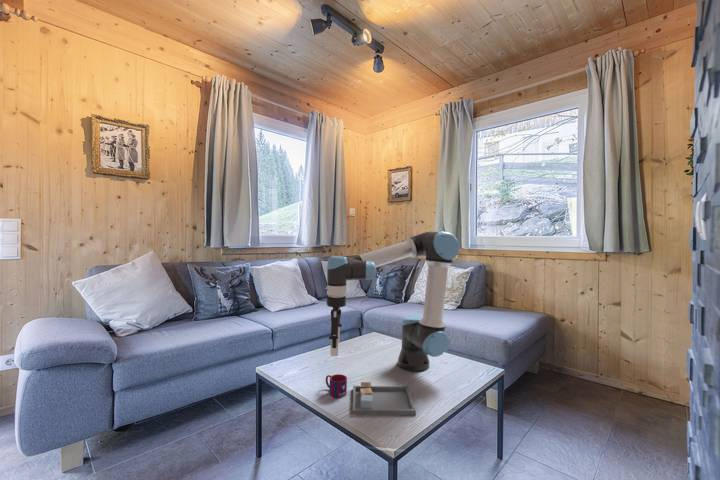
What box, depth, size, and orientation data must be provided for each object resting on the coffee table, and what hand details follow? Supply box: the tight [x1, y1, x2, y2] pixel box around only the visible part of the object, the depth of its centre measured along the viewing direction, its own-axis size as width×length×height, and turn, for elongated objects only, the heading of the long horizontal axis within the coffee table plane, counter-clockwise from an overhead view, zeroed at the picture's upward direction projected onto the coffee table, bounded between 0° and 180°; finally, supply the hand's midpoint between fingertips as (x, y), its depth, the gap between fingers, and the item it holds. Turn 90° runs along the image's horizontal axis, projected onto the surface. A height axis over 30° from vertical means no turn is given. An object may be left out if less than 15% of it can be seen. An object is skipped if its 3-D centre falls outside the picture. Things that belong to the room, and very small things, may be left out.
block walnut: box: [360, 381, 372, 389], centre depth 128 cm, size 4×4×4 cm
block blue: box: [361, 395, 373, 409], centre depth 118 cm, size 4×4×4 cm
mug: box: [325, 373, 348, 399], centre depth 130 cm, size 7×10×7 cm
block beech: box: [360, 388, 373, 400], centre depth 123 cm, size 4×4×4 cm
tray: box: [352, 385, 417, 416], centre depth 123 cm, size 22×18×2 cm
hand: (335, 349), depth 129 cm, fingers open, 13 cm apart
